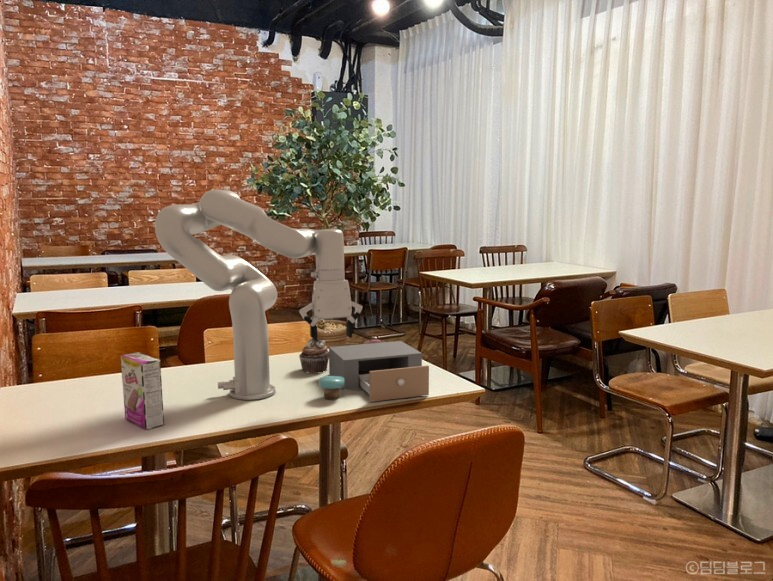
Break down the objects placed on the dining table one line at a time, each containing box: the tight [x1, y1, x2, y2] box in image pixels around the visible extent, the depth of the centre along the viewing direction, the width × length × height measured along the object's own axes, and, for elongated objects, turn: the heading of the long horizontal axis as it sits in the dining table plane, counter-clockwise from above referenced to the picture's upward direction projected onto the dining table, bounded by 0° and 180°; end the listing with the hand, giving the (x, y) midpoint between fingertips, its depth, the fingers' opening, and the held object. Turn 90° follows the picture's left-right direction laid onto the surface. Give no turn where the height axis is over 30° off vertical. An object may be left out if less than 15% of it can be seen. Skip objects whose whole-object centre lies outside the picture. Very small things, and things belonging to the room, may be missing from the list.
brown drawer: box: [359, 364, 430, 402], centre depth 171 cm, size 18×17×8 cm
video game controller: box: [363, 339, 386, 344], centre depth 211 cm, size 10×5×7 cm, turn 85°
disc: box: [318, 375, 345, 389], centre depth 166 cm, size 7×7×2 cm
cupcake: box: [298, 337, 329, 374], centre depth 193 cm, size 10×10×10 cm
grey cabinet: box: [328, 340, 423, 391], centre depth 184 cm, size 17×24×9 cm
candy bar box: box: [120, 351, 165, 430], centre depth 146 cm, size 11×5×16 cm, turn 48°
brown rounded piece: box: [323, 388, 341, 401], centre depth 166 cm, size 4×4×4 cm
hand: (332, 338), depth 164 cm, fingers open, 9 cm apart
